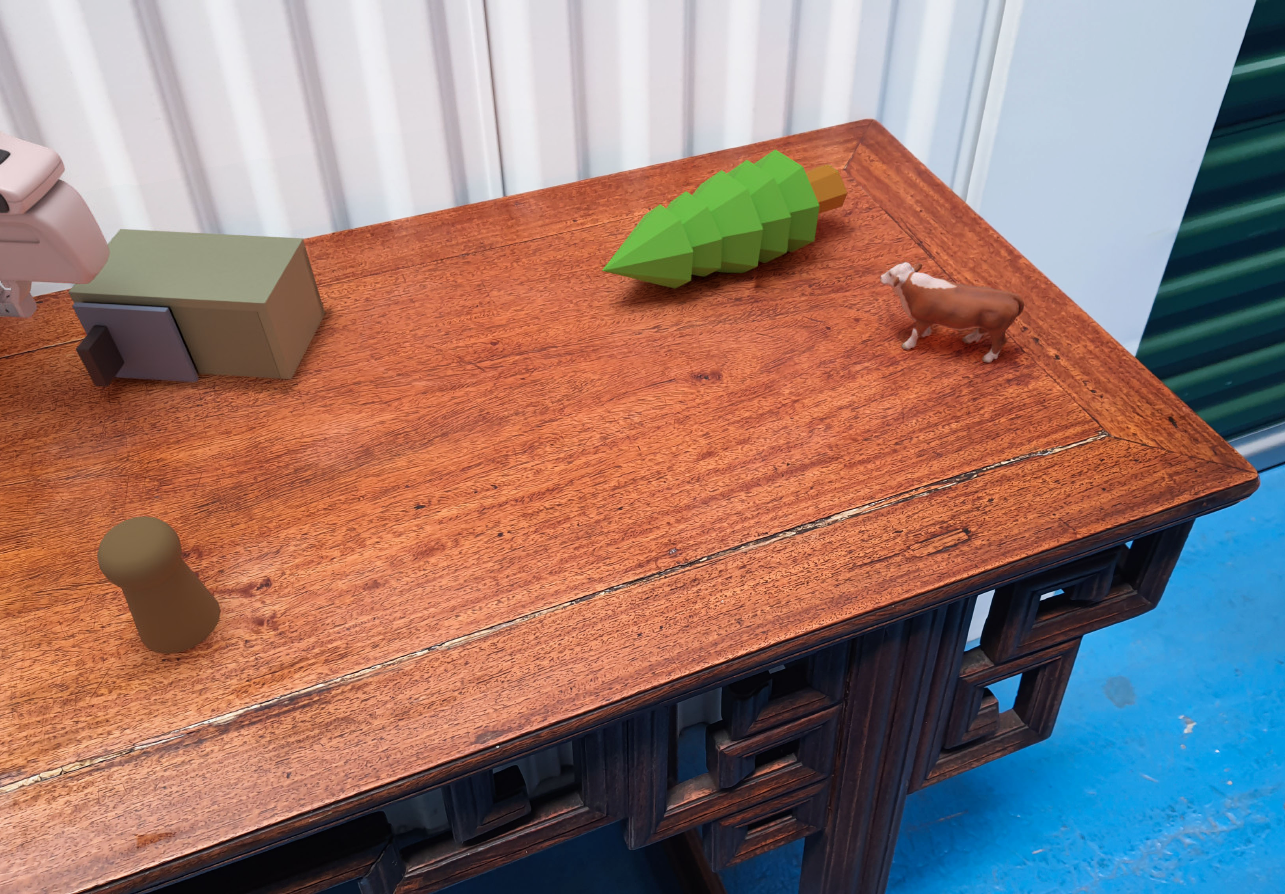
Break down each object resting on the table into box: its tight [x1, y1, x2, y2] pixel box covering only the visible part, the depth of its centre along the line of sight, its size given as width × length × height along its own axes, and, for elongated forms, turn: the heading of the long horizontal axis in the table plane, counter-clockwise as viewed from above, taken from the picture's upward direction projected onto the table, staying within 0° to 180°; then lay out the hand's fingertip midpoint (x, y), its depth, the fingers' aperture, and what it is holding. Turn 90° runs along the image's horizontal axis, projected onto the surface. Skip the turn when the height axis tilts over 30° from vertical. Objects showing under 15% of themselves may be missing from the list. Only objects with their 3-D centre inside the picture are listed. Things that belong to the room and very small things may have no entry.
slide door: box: [72, 302, 200, 388], centre depth 89 cm, size 9×4×8 cm, turn 84°
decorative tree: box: [601, 149, 848, 289], centre depth 103 cm, size 11×12×30 cm
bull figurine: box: [879, 261, 1025, 364], centre depth 95 cm, size 4×13×8 cm, turn 70°
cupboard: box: [68, 228, 326, 380], centre depth 94 cm, size 18×12×10 cm, turn 84°
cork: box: [96, 516, 221, 655], centre depth 71 cm, size 6×6×11 cm
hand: (17, 313), depth 86 cm, fingers closed
